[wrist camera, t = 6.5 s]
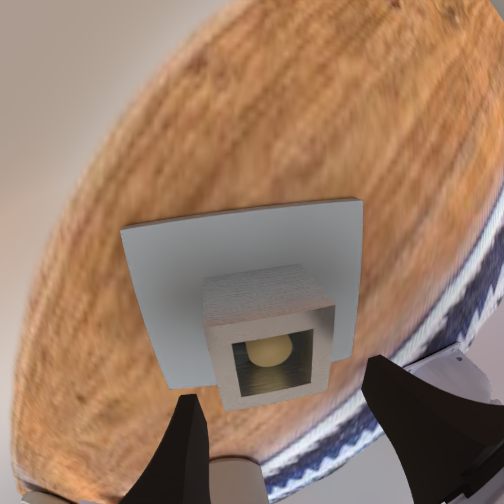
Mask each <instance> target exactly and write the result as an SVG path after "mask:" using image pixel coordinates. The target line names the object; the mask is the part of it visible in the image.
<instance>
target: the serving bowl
mask: <svg viewBox="0 0 504 504" xmlns="http://www.w3.org/2000/svg"><path fill="white" fill-rule="evenodd" d="M21 502H22V503H23V504H71V503H69V502H67V501H65V500H63V499H61V498H59V497H56V496H53V495H50V494H45V493H41V492H36V491H31V492H27V493H26V494H25V495H24V496H23V498H22V499H21Z"/></svg>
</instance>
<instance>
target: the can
mask: <svg viewBox="0 0 504 504" xmlns="http://www.w3.org/2000/svg"><path fill="white" fill-rule="evenodd" d="M209 489H210V499H211V504H269V500H268V496H267V492H266V488H265V483H264V479H263V475H262V471H261V467H260V466H258V465H257V464H255V463H253V462H251V461H250V460H247V459H243V458H222V459H217V460H213V461H211V462H209Z"/></svg>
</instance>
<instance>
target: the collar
mask: <svg viewBox="0 0 504 504" xmlns="http://www.w3.org/2000/svg"><path fill="white" fill-rule="evenodd" d="M335 308H336V305H335V303H334V302H333V301H332V300H331V299H330V297H329V296H328V295H327V294H326V293H325V292H324V290H323V289H322V288H321V287H320V286H319V285H318V283H317V282H316V281H315V280H314V279H313V278H312V276H311V275H310V274H309V273H308V272H307V271H306V269H305V268H304V267H303V266H302V265H301V264H300V263H299V264H292V265H286V266H279V267H273V268H266V269H259V270H252V271H246V272H239V273H232V274H225V275H218V276H210V277H204V286H203V328H204V332H205V337H206V341H207V345H208V350H209V354H210V358H211V362H212V366H213V370H214V374H215V378H216V382H217V385H218V389H219V393H220V397H221V400H222V404H223V407H224V411H230V410H237V409H244V408H250V407H256V406H262V405H267V404H272V403H277V402H282V401H287V400H291V399H296V398H300V397H304V396H308V395H312V394H316V393H320V392H323V391H327V389H328V381H329V373H330V365H331V356H332V346H333V335H334V323H335ZM285 334H288V336H289V338H290V340H291V342H292V351H291V354H290V355H289V357H288V358H287V359H286V360H285V361H283V362H282V363H280V364H278V365H275V366H271V367H262V366H258V365H256V364H254V363H253V362H252V361H251V360H250V359H249V356H248V352H247V348H246V343H245V341H251V340H257V339H263V338H269V337H274V336H280V335H285Z"/></svg>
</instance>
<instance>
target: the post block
mask: <svg viewBox="0 0 504 504" xmlns="http://www.w3.org/2000/svg"><path fill="white" fill-rule="evenodd" d="M120 233H121V238H122V242H123V247H124V251H125V255H126V259H127V264H128V267H129V271H130V275H131V279H132V283H133V286H134V290H135V293H136V297H137V300H138V304H139V307H140V310H141V313H142V317H143V320H144V323H145V326H146V329H147V332H148V335H149V338H150V341H151V343H152V346H153V349H154V352H155V354H156V357H157V360H158V362H159V365H160V368H161V370H162V373H163V375H164V378H165V380H166V382H167V385H168V387H169V389H180V388H192V387H202V386H211V385H217V382H216V378H215V374H214V370H213V366H212V362H211V358H210V354H209V350H208V345H207V341H206V337H205V332H204V328H203V286H204V277H210V276H218V275H225V274H232V273H239V272H246V271H252V270H259V269H266V268H273V267H279V266H286V265H292V264H299V263H300V264H301V265H302V266H303V267H304V268H305V269H306V271H307V272H308V273H309V274H310V275H311V276H312V278H313V279H314V280H315V281H316V282H317V283H318V285H319V286H320V287H321V288H322V289H323V290H324V292H325V293H326V294H327V295H328V296H329V297H330V299H331V300H332V301H333V302H334V303H335V305H336V308H335V323H334V335H333V346H332V356H331V362H335V361H338V360H342V359H345V358H349V357H351V353H352V347H353V340H354V333H355V325H356V317H357V308H358V298H359V288H360V275H361V259H362V237H363V200H360V199H357V198H346V199H333V200H321V201H310V202H299V203H289V204H279V205H270V206H261V207H252V208H244V209H236V210H228V211H220V212H212V213H205V214H198V215H191V216H184V217H177V218H171V219H164V220H158V221H152V222H146V223H140V224H134V225H128V226H124V227H123V228H122V229H121V230H120ZM245 343H246V348H247V352H248V356H249V359H250V360H251V361H252V362H253V363H254V364H256V365H258V366H262V367H271V366H275V365H278V364H280V363H282V362H283V361H285V360H286V359H287V358H288V357H289V355H290V354H291V351H292V342H291V340H290V338H289V336H288V334H285V335H280V336H274V337H269V338H263V339H257V340H251V341H245Z"/></svg>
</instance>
